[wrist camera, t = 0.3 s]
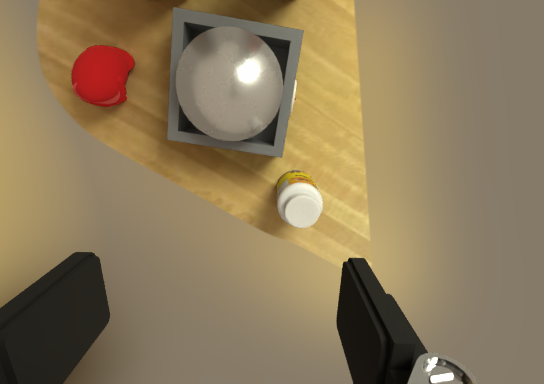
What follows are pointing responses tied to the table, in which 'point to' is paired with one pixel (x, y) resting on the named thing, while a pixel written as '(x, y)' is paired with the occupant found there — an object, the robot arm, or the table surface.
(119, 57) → the cap
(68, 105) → the table surface
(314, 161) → the table surface
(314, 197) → the supplement bottle
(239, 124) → the scale pan
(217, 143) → the scale base
